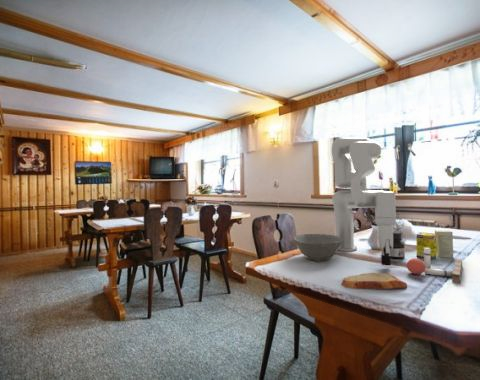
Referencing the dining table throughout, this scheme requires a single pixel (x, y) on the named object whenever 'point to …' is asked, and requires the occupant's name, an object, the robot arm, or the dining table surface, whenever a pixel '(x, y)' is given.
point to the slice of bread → (373, 281)
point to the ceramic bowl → (318, 245)
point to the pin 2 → (438, 272)
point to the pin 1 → (427, 258)
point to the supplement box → (426, 244)
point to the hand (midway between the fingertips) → (385, 264)
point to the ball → (415, 266)
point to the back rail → (457, 271)
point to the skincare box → (444, 243)
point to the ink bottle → (397, 246)
